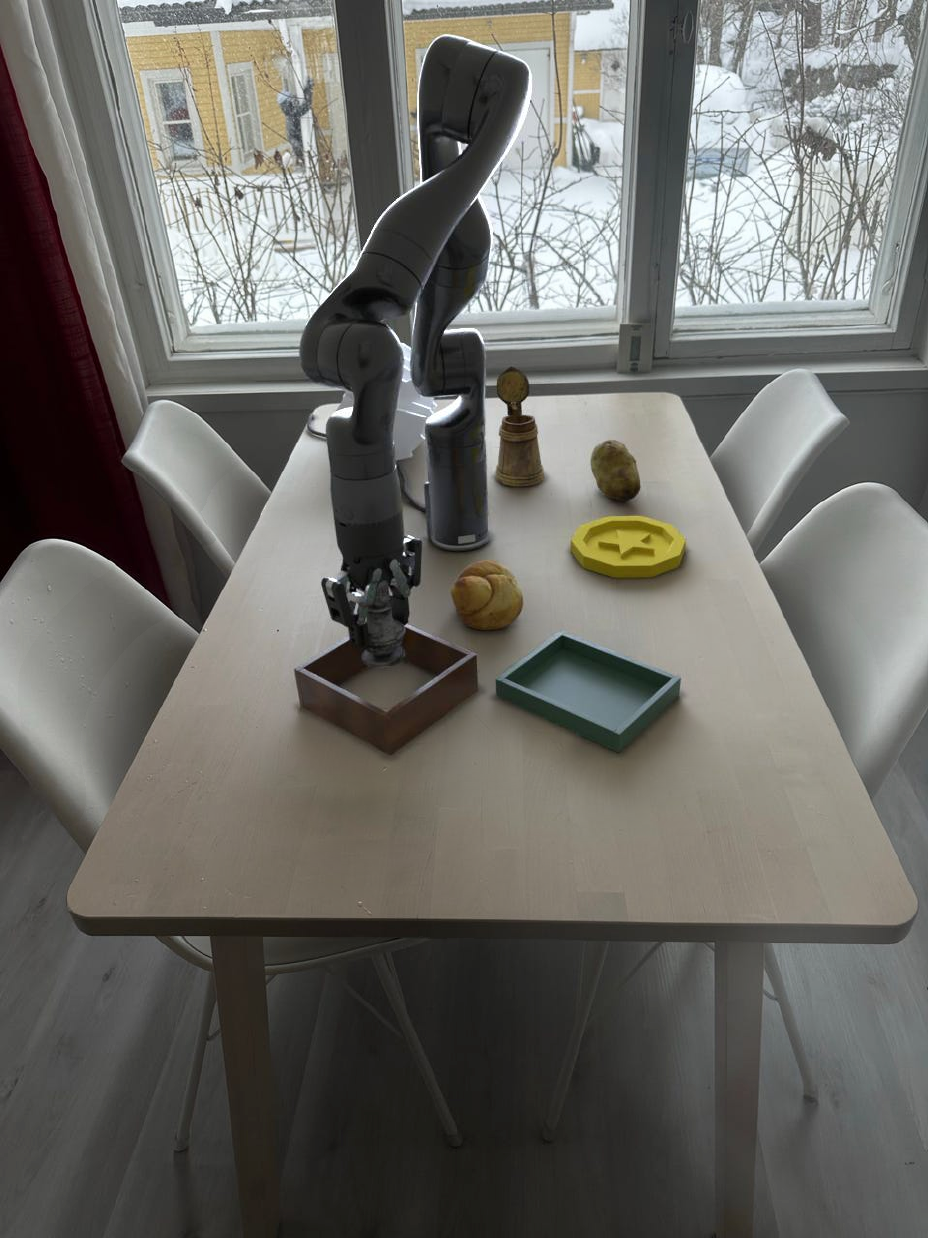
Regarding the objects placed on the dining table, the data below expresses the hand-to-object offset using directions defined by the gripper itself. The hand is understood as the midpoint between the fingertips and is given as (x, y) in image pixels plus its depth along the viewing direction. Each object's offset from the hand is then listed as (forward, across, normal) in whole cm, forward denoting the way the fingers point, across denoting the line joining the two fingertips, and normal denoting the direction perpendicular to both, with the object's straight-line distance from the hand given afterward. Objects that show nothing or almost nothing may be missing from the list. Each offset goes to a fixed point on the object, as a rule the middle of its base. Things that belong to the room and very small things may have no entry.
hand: (381, 634), depth 109 cm
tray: (+9, -15, +19) cm, 26 cm away
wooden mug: (+10, -65, -30) cm, 72 cm away
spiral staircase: (+10, -61, -59) cm, 85 cm away
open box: (+9, 0, 0) cm, 9 cm away
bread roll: (+10, -23, -3) cm, 25 cm away
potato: (+10, -68, -11) cm, 69 cm away
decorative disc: (+10, -50, +3) cm, 51 cm away
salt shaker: (+3, 0, 0) cm, 3 cm away
